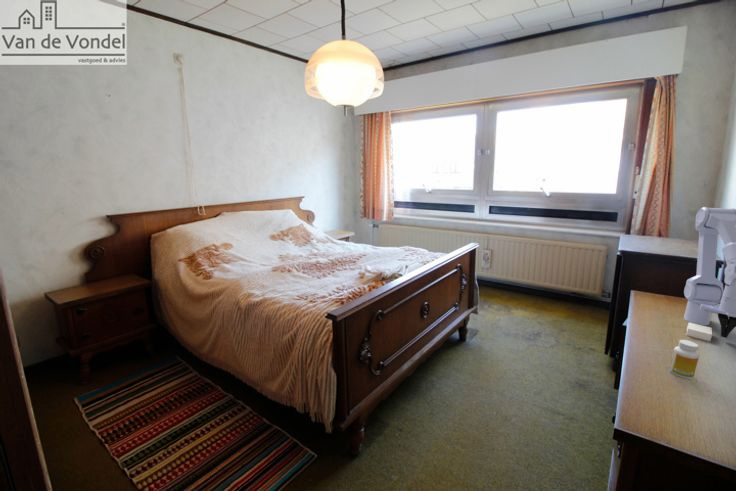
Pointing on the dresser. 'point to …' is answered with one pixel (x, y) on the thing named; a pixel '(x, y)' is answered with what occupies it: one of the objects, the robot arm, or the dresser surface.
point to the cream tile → (699, 331)
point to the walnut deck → (694, 337)
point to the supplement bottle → (684, 359)
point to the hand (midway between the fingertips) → (723, 336)
